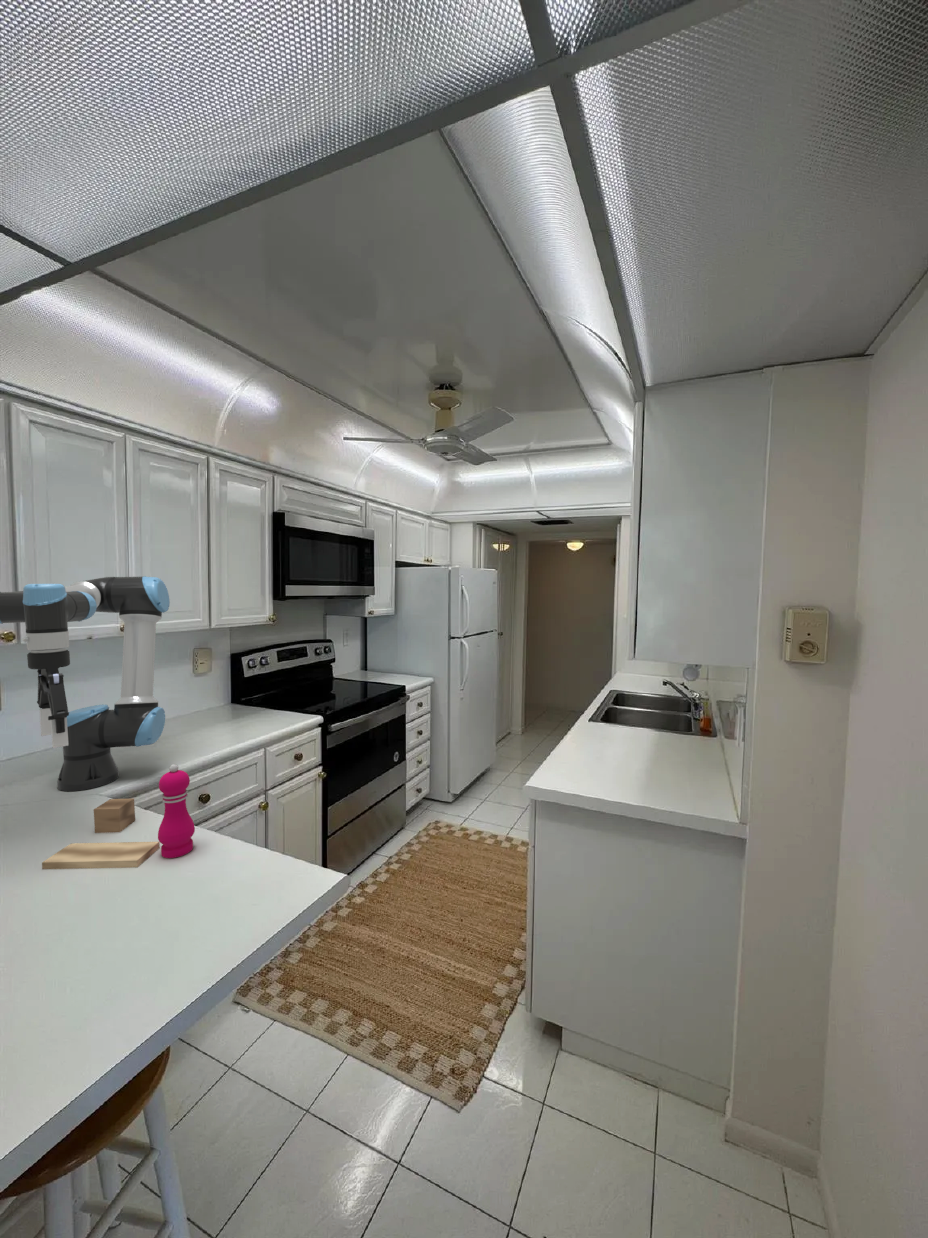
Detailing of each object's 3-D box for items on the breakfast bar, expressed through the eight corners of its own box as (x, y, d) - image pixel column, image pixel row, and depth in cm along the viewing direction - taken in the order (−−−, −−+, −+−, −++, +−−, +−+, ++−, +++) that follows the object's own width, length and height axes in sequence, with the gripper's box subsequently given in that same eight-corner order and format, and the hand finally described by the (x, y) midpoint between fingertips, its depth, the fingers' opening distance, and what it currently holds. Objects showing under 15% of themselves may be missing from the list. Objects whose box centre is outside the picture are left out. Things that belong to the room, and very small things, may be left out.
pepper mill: (202, 843, 115) (199, 759, 114) (181, 860, 108) (177, 770, 107) (173, 842, 116) (169, 758, 115) (150, 859, 109) (146, 769, 108)
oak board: (71, 852, 113) (71, 843, 113) (159, 850, 114) (159, 841, 113) (42, 871, 105) (41, 862, 105) (137, 869, 106) (137, 860, 105)
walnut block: (111, 822, 127) (110, 799, 127) (135, 821, 127) (134, 798, 127) (94, 833, 121) (93, 809, 121) (120, 832, 121) (118, 808, 121)
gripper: (18, 647, 120) (24, 733, 121) (37, 657, 103) (43, 756, 105) (58, 644, 125) (63, 727, 127) (81, 653, 109) (87, 747, 110)
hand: (54, 740), depth 116 cm, fingers open, 13 cm apart
